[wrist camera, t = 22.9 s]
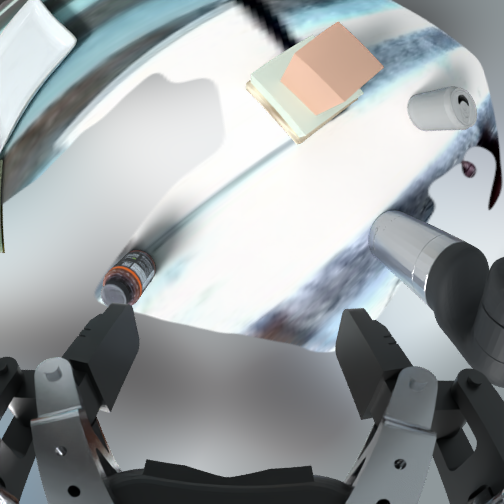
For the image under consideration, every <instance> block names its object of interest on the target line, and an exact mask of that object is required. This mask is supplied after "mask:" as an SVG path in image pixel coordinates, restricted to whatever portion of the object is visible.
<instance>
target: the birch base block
mask: <svg viewBox="0 0 504 504" xmlns="http://www.w3.org/2000/svg"><path fill="white" fill-rule="evenodd" d="M246 90H247V91H248V92H249V93H250V94H251V95H252V96H253V97H254V98H255V99H256V100H257V101H258V102H259V103H260V104H261V105H262V106H263V107H264V108H265V109H266V111H267V112H268V113H269V114H270V115H271V116H272V117H273V118H274V119H275V120H276V121H277V122H278V124H279V125H280V126H281V127H282V128H283V129H284V130H285V131H286V133H287V134H288V135H289V136H290V137H291V138H292V139H293V141H294V142H295V143H296V144H300V143H302V142H303V141H305V140H306V139H307V138H308V137H310V136H311V135H312V134H313V133H315V132H316V131H317V130H318V129H320V128H321V127H322V126H323V125H325V124H326V123H327V122H329V121H330V120H331V119H332V118H334V117H335V116H336V115H338V114H339V113H340V112H341V111H343V110H344V109H345V108H347V107H348V106H349V105H351V104H352V103H353V102H355V101H356V100H357V99H358V98H356V99H355V100H354V101H352V102H351V103H349V104H348V105H346V106H345V107H344V108H342V109H341V110H340V111H338V112H337V113H335V114H334V115H333V116H331V117H330V118H328V119H327V120H326V121H324V122H323V123H322V124H320V125H319V126H318V127H316V128H315V129H314V130H312V131H311V132H310V133H308V134H307V135H306V136H303V137H300V138H299V137H298V135H297V134H296V133H295V132H294V131H293V129H292V128H291V127H290V126H289V125H288V124H287V122H286V121H285V120H284V119H283V118H282V116H281V115H280V114H279V113H278V112H277V111H276V110H275V108H274V107H273V106H272V105H271V104H270V103H269V102H268V101H267V100H266V98H265V97H264V96H263V95H262V94H261V93H260V92H259V91H258V90H257V89H256V88H255V87H254V86H253V84H252V83H251V80H250V81H249V82H247V83H246Z"/></svg>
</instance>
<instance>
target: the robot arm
mask: <svg viewBox="0 0 504 504" xmlns="http://www.w3.org/2000/svg"><path fill="white" fill-rule="evenodd" d="M369 247H370V250H371V252H372V254H373V255H374V256H375V257H376V258H377V259H378V260H379V261H380V262H381V263H382V264H383V265H385V266H386V267H387V268H388V269H389V270H390V271H391V272H392V273H393V274H395V275H396V276H397V277H398V278H399V279H400V280H401V281H402V282H403V283H404V284H405V285H407V286H408V287H409V288H410V289H411V290H412V291H413V292H414V293H415V294H416V295H417V296H418V297H419V298H420V299H422V300H423V301H424V302H425V303H426V304H427V305H428V306H429V307H430V308H431V309H432V310H433V311H434V314H435V318H436V321H437V323H438V325H439V326H440V328H441V329H442V330H443V331H444V333H445V334H446V335H447V336H448V338H449V339H450V340H451V341H452V342H453V344H454V345H455V346H456V348H457V349H458V350H459V352H460V353H461V354H462V356H463V357H464V358H465V360H466V361H467V362H468V363H469V365H470V366H471V367H472V368H473V369H464V370H462V371H460V372H459V374H458V376H457V378H456V379H455V381H437V379H436V377H435V376H434V375H433V374H432V373H431V372H430V371H428V370H427V369H425V368H422V367H416V366H413V365H412V364H411V362H410V361H409V359H408V358H407V357H406V355H405V354H404V352H403V351H402V349H401V348H400V346H399V345H398V344H396V341H395V339H394V338H393V337H392V335H391V334H390V332H389V331H388V329H387V328H386V327H385V326H384V325H382V324H381V323H379V322H378V321H376V320H372V319H371V317H370V316H369V314H368V313H367V312H366V310H365V309H364V308H359V309H345V310H344V311H343V313H342V318H341V322H340V327H339V331H338V336H337V340H336V356H337V359H338V361H339V364H340V366H341V369H342V371H343V374H344V376H345V379H346V381H347V384H348V386H349V389H350V392H351V394H352V397H353V399H354V402H355V404H356V407H357V410H358V412H359V415H360V417H361V420H363V419H368V418H373V419H374V422H375V423H374V425H373V426H372V428H371V431H370V433H369V435H368V437H367V439H366V442H365V443H364V445H363V447H362V450H361V452H360V454H359V455H358V458H357V459H356V462H355V463H354V465H353V467H352V468H351V470H350V472H349V473H348V475H347V476H346V478H345V479H344V481H343V482H341V481H339V480H336V479H332V478H329V477H324V476H318V475H313V472H312V467H311V466H303V467H293V468H279V469H268V470H264V471H260V472H255V473H251V474H246V475H241V476H235V477H222V476H217V475H214V474H211V473H207V472H204V471H201V470H197V469H194V468H191V467H188V466H185V465H177V464H170V463H164V462H158V461H153V460H146V463H145V467H144V469H134V470H128V471H123V472H122V471H121V469H120V467H119V466H118V464H117V463H116V461H115V459H114V457H113V455H112V453H111V450H110V448H109V445H108V443H107V441H106V438H105V436H104V433H103V431H102V428H101V426H100V423H99V420H98V418H97V416H96V415H97V412H98V411H99V410H102V411H106V412H111V410H112V408H113V405H114V403H115V401H116V399H117V396H118V394H119V392H120V389H121V387H122V385H123V383H124V381H125V378H126V376H127V374H128V372H129V370H130V368H131V365H132V363H133V361H134V359H135V357H136V355H137V352H138V349H139V335H138V331H137V326H136V322H135V317H134V312H133V308H132V306H131V305H130V304H122V303H111V304H110V305H109V307H108V308H107V309H106V311H105V312H104V313H103V314H99V315H98V316H96V317H95V318H93V319H91V320H90V321H89V323H88V324H87V325H86V326H85V328H84V330H82V331H81V333H80V334H79V336H78V337H77V338H76V339H75V340H74V342H73V343H72V344H71V346H70V347H69V348H68V350H67V351H66V352H65V353H64V355H63V356H62V358H58V357H57V358H50V359H47V360H45V361H43V362H42V363H41V364H39V366H38V367H37V368H36V370H21V369H20V367H19V365H18V363H17V361H16V360H15V359H14V358H11V357H3V358H0V420H1V418H2V416H3V415H4V413H5V411H6V410H7V408H9V409H10V411H11V412H12V413H13V415H14V417H13V419H12V421H11V423H10V425H9V426H8V428H7V430H6V432H5V434H4V436H3V438H2V440H1V439H0V504H19V501H20V497H21V495H22V491H23V489H24V486H25V483H26V480H27V478H28V475H29V472H30V469H31V467H32V464H33V462H34V459H35V457H36V460H37V464H38V469H39V472H40V477H41V480H42V484H43V488H44V491H45V494H46V498H47V501H48V504H417V503H418V501H419V498H420V495H421V492H422V489H423V486H424V483H425V480H426V477H427V473H428V470H429V466H430V462H431V459H432V456H433V458H434V461H435V463H436V466H437V468H438V471H439V474H440V476H441V479H442V482H443V485H444V487H445V490H446V493H447V496H448V499H449V502H450V504H504V401H503V400H502V399H501V397H500V395H499V394H498V393H497V391H496V390H495V388H494V387H493V386H492V384H493V385H495V386H498V387H503V388H504V257H503V258H500V259H498V260H496V261H495V262H494V263H493V265H492V266H491V268H490V270H489V266H488V262H487V259H486V257H485V256H484V254H483V253H482V252H481V251H480V250H479V249H478V248H476V247H474V246H472V245H471V244H468V243H467V242H465V241H462V240H461V239H459V238H457V237H455V236H453V235H451V234H449V233H447V232H445V231H443V230H440V229H438V228H436V227H434V226H432V225H430V224H428V223H426V222H423V221H421V220H419V219H417V218H415V217H413V216H410V215H408V214H406V213H403V212H401V211H398V210H391V211H387V212H385V213H383V214H382V215H380V216H379V217H378V218H377V219H376V220H375V222H374V223H373V225H372V227H371V230H370V234H369ZM466 422H467V423H468V424H469V426H470V428H471V430H472V432H473V434H474V435H475V437H476V440H477V447H476V450H475V452H474V451H473V449H472V447H471V445H470V443H469V441H468V439H467V437H466V435H465V433H464V431H463V429H462V427H463V426H464V425H465V423H466Z"/></svg>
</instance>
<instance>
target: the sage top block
mask: <svg viewBox="0 0 504 504" xmlns="http://www.w3.org/2000/svg"><path fill="white" fill-rule="evenodd" d="M314 38H315V37H314V36H313V35H312V36H310V37H308V38H306V39H305V40H303V41H301V42H299V43H298V44H296V45H294V46H293V47H291V48H290V49H288V50H286V51H285V52H283V53H282V54H280V55H278V56H277V57H275V58H274V59H272V60H271V61H269V62H268V63H266V64H265V65H263V66H262V67H260V68H259V69H258V70H256V71H255V72H253V73H252V74H251V83H252V84H253V86H254V87H255V88H256V89H257V90H258V91H259V92H260V93H261V94H262V95H263V96H264V97H265V98H266V100H267V101H268V102H269V103H270V104H271V105H272V106H273V107H274V108H275V110H276V111H277V112H278V113H279V114H280V115H281V116H282V118H283V119H284V120H285V121H286V122H287V124H288V125H289V126H290V127H291V128H292V129H293V131H294V132H295V133H296V134H297V135H298V137H299V138H300V137H303V136H306V135H307V134H308V133H310V132H311V131H312V130H314V129H315V128H316V127H318V126H319V125H320V124H322V123H323V122H324V121H326V120H327V119H328V118H330V117H331V116H333V115H334V114H335V113H337V112H338V111H340V110H341V109H342V108H344V107H345V106H346V105H348V104H349V103H351V102H352V101H354V100H355V99H356V98H358V97H359V96H361V95H362V94H364V93H363V92H362V90H361V89H358V90H357V91H356V92H355V93H354V94H353V95H352V96H351V97H349V98H348V99H347V100H346V101H345V102H343V103H341V104H339V105H337V106H335V107H333V108H330V109H328V110H326V111H324V112H322V113H320V114H318V115H315V114H314V113H313V112H312V111H311V110H310V109H309V108H308V107H307V106H306V105H305V104H304V103H303V102H302V101H301V100H300V99H299V98H298V97H297V96H296V95H295V94H294V93H292V92H291V91H290V90H289V89H288V88H287V87H286V86H285V85H284V84H283V83H282V82H280V80H281V78H282V76H283V74H284V72H285V70H286V68H287V67H288V65H289V63H290V61H291V59H292V57H293V55H294V53H296V52H297V51H298V50H299V49H301V48H302V47H303V46H305V45H306V44H307V43H309V42H310V41H311V40H313V39H314Z"/></svg>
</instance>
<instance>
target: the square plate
mask: <svg viewBox="0 0 504 504" xmlns="http://www.w3.org/2000/svg"><path fill="white" fill-rule="evenodd" d="M76 42H77V39H76V37H75V36H74V35H73V34H72V33H71V32H70V31H69V30H68V29H67V28H66V27H65V26H64V25H62V24H61V23H60V22H59V21H58V20H57V19H56V18H55V17H54V16H53V15H52V14H51V12H50V11H49V10H48V9H47V8H46V6H45V5H44V4H43V2H42V1H41V0H28V1H27V3H26V4H25V5H24V6H23V7H22V8H21V9H20V10H19V12H18V13H17V14H16V15H15V16H14V17H13V19H12V20H11V21H10V22H9V24H8V25H7V26H6V27H5V29H4V30H3V31H2V33H1V34H0V153H1V151H2V149H3V147H4V146H5V144H6V142H7V141H8V139H9V137H10V135H11V134H12V132H13V130H14V128H15V126H16V125H17V123H18V121H19V119H20V118H21V116H22V114H23V113H24V111H25V109H26V108H27V106H28V105H29V103H30V102H31V100H32V99H33V97H34V96H35V94H36V93H37V92H38V90H39V89H40V88H41V86H42V85H43V84H44V82H45V81H46V80H47V79H48V77H49V76H50V75H51V74H52V73H53V71H54V70H55V69H56V68H57V67H58V66H59V65H60V63H61V62H62V61H63V60H64V59H65V58H66V56H67V55H68V54H69V53H70V52H71V50H72V49H73V48H74V46H75V45H76Z"/></svg>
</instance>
